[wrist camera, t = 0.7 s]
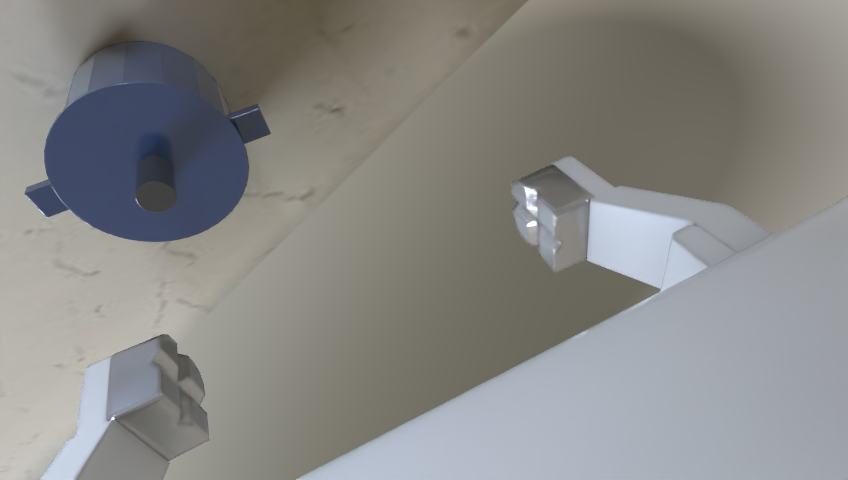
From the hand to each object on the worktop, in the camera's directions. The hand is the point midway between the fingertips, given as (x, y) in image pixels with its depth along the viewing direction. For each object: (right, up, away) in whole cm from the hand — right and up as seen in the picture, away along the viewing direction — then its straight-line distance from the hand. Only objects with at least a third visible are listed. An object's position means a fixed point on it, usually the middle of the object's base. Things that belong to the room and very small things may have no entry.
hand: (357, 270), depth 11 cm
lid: (-19, +6, +27) cm, 34 cm away
